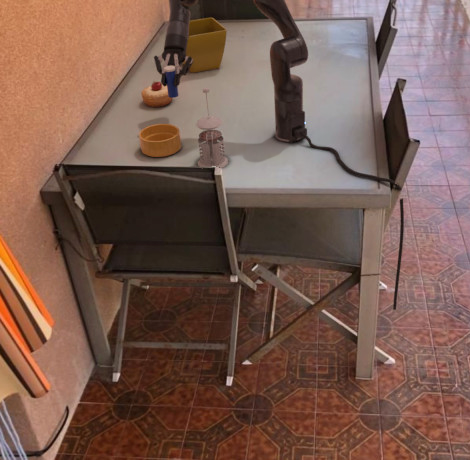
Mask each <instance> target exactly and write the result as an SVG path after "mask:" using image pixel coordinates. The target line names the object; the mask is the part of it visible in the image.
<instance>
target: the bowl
mask: <svg viewBox="0 0 470 460" xmlns="http://www.w3.org/2000/svg"><path fill="white" fill-rule="evenodd" d="M138 139H139V144H140V145H139V146H140V151H141V153H142V154H144V155H145V156H148V157H154V158H160V157H161V158H162V157H167V156H171V155H174V154H176V153H177V152H178V151H180V149H181V148H182V138H181V131H180V129H179V127H178V126H176V125H175V124H170V123H156V124H152V125H149V126H146V127H144V128H142V129H141V130H140V131H139V133H138Z"/></svg>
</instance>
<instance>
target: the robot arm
mask: <svg viewBox="0 0 470 460" xmlns="http://www.w3.org/2000/svg"><path fill="white" fill-rule="evenodd" d="M197 2H198V0H168V6H169V17H168V24H167V27H166V31H165V40H164V45H163V52H162V53H161V54H160V55H154V56H153V60H154V64H155V67H156V71H157V73H158V74H159V75H161V79H160V83H161V84H162V85H163V86H166V85H167V82H166V75H165V71H164V67H166V66H175V73H176V74H175V78H174V86H175V87H177V88H178V87H179V86H180V83H181V77H182V76H187V74H188V73H189V72H190V71H189V69H190V67H191V65H192V63H193V59H192V58H191V57H188V56H187V55H186V50H187V43H188V38H189V23H190V21H191V17H192V16H191V15H192V14H191V11H190V10H189V9H188V8H187V7H193V6H195V5H196V4H197ZM252 2H253V4H254V6H255V7H256V9H257V10H258V11H260V13H262V14H263V15H264V16H265V17H266V18H268V19H269V20H270V21H271V22H272V23H274V25H275V26H276V27H277V28H278V30H279V32H280V34H281V35H282V38H280V39H278V40H274V41H273V42H272V43H271V44H270V48H269V62H270V73H271V80H272V83H273V96H274V99H273V100H274V123H275V124H274V128H275V139H277V140H278V141H281V142H283V143H284V142H285V143H290V144H292V143H295V142H298V141H300V140H302V139H305V140H306V141H307V143H308V145H309V146H310V147H311V148H313V149H315V150H322V151H323V150H324V151H330V152H332V153H334V155H335V157H336V159H337V161H338V162H339V164H340V165H341V166H342V167H343V168H344V169H345V170H346V171H347V172H349V173H351V174H353V175H354V176H358V177H363V178H368V179H373V180H376V181H379V182H386V183H389V184H392V185H393V186H394V187H396V189H397V190H398V191H402V187H401V186H400V185H399V184H398V183H397V184H398V185H397V184H395V183H394V181H395V180H393V179H391V178H386V177H382V176H381V177H380V176H376V175H373V174H367V173H363V172H359V171H357V170H356V171H355V170H353V169H352V168H350V167H349V166H348V165H347V164H346V163H345V162H344V161H343V160H342V159H341V156H340V154H339V152H338V151H337V149H335V148H333V147H330V146H318V145H315V144H313V143H312V140H311V138H310V137H309V136H308V128H307V127H306V112H305V110H304V87H303V86H304V85H303V84H304V83H303V82H304V81H303V79H302V78H301V76H299V75H296V74H292V73H291V69H292V68H296V67H299V66H302V65H304V64H306V62H308V59H309V48H308V46H307V42H306V40H305V37H304V36H303V35H302V32H301V31H300V29H299V27H298V25H297V23H296V21H295V19H294V17H293V15H292V13H291V11H290V9H289V7H288V4H287V2H286V0H252ZM163 61H164V62H163ZM184 61H185V64H183V62H184ZM162 63H163V68H162ZM182 64H183V66H182ZM404 211H405V210H404V197H401V198H400V199H399V213H400V215H399V217H400V227H399V228H400V229H399V247H398V256H397V265H396V272H395V273H396V275H395V281H394V282H395V283H394V284H395V285H394V293H393V304H392V305H393V306H392V309H393V311H396V310H397V301H398V292H399V291H398V290H399V282H400V273H401V266H402V265H401V264H402V255H403V245H404V234H405V233H404V232H405V229H404V228H405V212H404Z"/></svg>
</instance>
